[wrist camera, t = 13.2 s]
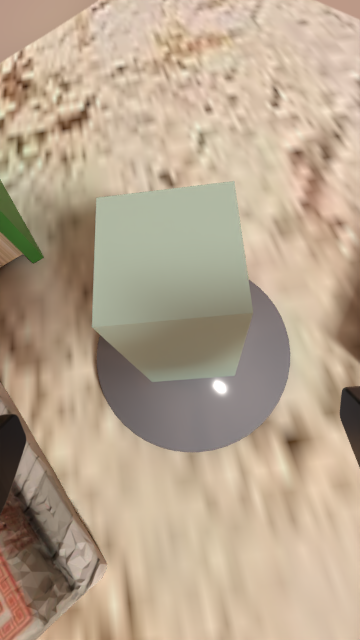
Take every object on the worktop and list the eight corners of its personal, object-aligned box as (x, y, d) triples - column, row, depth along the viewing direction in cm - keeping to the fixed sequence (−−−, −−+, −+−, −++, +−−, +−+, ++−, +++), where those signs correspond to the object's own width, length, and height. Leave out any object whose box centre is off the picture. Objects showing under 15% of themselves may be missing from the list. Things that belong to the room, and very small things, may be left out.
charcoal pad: (164, 495, 19) (161, 498, 18) (69, 331, 23) (65, 327, 22) (329, 374, 20) (333, 372, 19) (212, 239, 24) (212, 233, 23)
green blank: (234, 375, 20) (253, 312, 10) (152, 381, 20) (91, 327, 10) (225, 299, 22) (234, 181, 12) (149, 306, 22) (96, 197, 12)
